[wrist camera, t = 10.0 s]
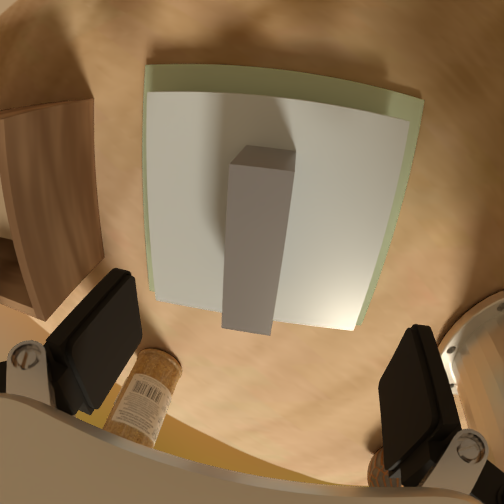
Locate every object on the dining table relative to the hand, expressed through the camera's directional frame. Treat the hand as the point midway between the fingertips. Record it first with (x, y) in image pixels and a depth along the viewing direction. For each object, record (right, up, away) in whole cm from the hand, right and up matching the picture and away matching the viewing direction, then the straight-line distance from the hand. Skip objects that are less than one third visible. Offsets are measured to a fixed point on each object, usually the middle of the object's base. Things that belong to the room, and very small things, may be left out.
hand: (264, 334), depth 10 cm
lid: (+1, +5, +9) cm, 10 cm away
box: (-17, +8, +10) cm, 22 cm away
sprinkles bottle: (-9, -8, +18) cm, 22 cm away
